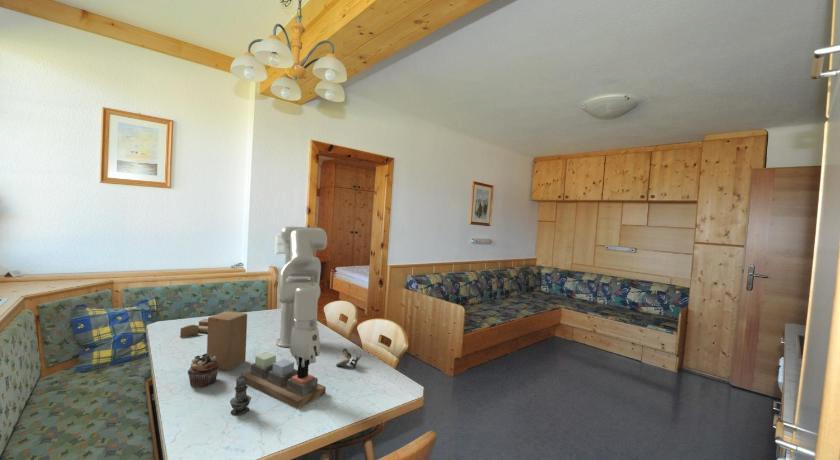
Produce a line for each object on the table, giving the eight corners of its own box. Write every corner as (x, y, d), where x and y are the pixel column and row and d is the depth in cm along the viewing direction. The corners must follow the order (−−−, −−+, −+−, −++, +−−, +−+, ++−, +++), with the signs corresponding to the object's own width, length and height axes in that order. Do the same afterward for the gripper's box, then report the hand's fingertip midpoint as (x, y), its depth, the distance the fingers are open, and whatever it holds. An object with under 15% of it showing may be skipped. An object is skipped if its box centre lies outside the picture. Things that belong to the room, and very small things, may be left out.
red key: (302, 383, 122) (303, 371, 122) (313, 387, 119) (313, 375, 119) (291, 388, 118) (291, 377, 117) (301, 393, 115) (301, 381, 115)
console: (270, 370, 136) (271, 355, 136) (325, 393, 121) (326, 376, 121) (241, 381, 126) (241, 365, 126) (297, 409, 111) (298, 390, 111)
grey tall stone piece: (234, 405, 111) (236, 368, 110) (253, 406, 111) (255, 369, 111) (225, 416, 105) (227, 377, 104) (246, 416, 105) (247, 377, 105)
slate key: (284, 369, 127) (284, 358, 127) (293, 373, 124) (294, 362, 124) (272, 374, 123) (272, 363, 122) (281, 378, 120) (282, 367, 120)
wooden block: (227, 371, 134) (229, 319, 133) (205, 367, 136) (207, 317, 135) (245, 361, 143) (247, 313, 143) (224, 357, 145) (226, 310, 145)
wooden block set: (203, 316, 182) (236, 319, 181) (202, 327, 182) (235, 330, 181) (178, 326, 165) (214, 329, 164) (178, 338, 165) (214, 341, 164)
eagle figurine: (362, 360, 148) (344, 353, 151) (361, 350, 144) (342, 343, 147) (352, 375, 142) (334, 367, 145) (351, 365, 138) (332, 357, 141)
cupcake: (225, 378, 128) (226, 352, 127) (202, 391, 118) (203, 362, 118) (204, 374, 130) (205, 348, 130) (180, 386, 121) (181, 357, 121)
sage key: (267, 362, 132) (267, 352, 132) (275, 365, 129) (276, 355, 129) (254, 366, 128) (255, 356, 128) (263, 370, 125) (264, 359, 125)
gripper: (329, 325, 117) (326, 378, 118) (299, 316, 125) (296, 367, 125) (312, 330, 111) (309, 387, 111) (281, 321, 118) (278, 374, 119)
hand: (302, 376), depth 118 cm, fingers closed
